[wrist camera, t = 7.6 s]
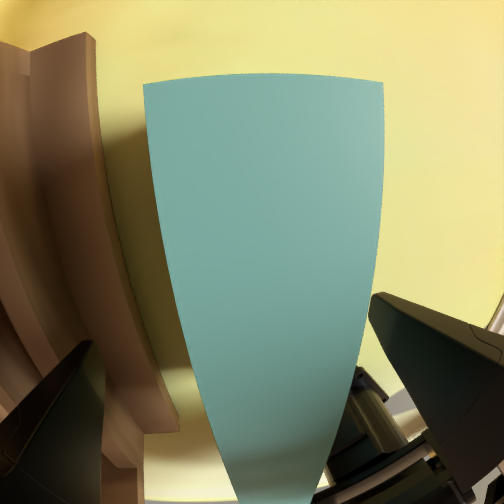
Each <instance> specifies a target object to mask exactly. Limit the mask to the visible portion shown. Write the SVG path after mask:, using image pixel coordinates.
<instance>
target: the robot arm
mask: <svg viewBox="0 0 504 504" xmlns="http://www.w3.org/2000/svg"><path fill="white" fill-rule="evenodd" d="M368 318H369V321H370V323H371V325H372V327H373V329H374V331H375V334H376V336H377V338H378V340H379V342H380V344H381V346H382V348H383V350H384V352H385V354H386V356H387V358H388V359H389V361H390V363H391V364H392V366H393V368H394V369H395V371H396V373H397V374H398V376H399V378H400V379H401V381H402V383H403V384H404V386H405V388H406V390H407V391H408V393H409V395H410V396H411V398H412V400H413V402H414V403H415V405H416V407H417V409H418V410H419V412H420V414H421V416H422V418H423V419H424V421H425V423H426V425H427V427H428V428H429V429H428V428H427V429H426V430H424V431H423V432H422V433H421V435H420V436H418V437H417V438H415V439H414V440H412V441H411V442H408V441H407V439H406V438H405V436H404V434H403V433H402V431H401V430H400V428H399V427H398V425H397V423H396V422H395V420H394V419H393V417H392V416H391V414H390V413H389V411H388V409H387V408H386V406H385V405H384V403H385V402H386V401H387V400H388V399H389V396H388V395H387V393H386V392H385V391H384V390H383V389H382V388H381V387H380V386H379V384H378V383H377V382H376V381H375V380H374V379H373V378H372V377H371V376H370V374H369V373H368V372H367V371H366V370H365V369H364V368H363V367H358V368H356V369H355V371H354V375H353V379H352V383H351V387H350V390H349V394H348V398H347V401H346V405H345V408H344V411H343V415H342V418H341V421H340V424H339V427H338V431H337V434H336V437H335V440H334V443H333V445H332V448H331V451H330V454H329V457H328V459H327V462H326V465H325V468H324V470H323V471H324V473H325V476H326V478H327V480H328V483H329V485H330V488H327V489H325V490H323V491H320V492H318V493H316V494H314V495H313V497H312V500H311V502H310V504H472V503H473V502H475V501H476V497H475V494H474V492H473V490H472V488H471V487H472V486H474V485H475V484H476V483H477V482H479V481H480V480H481V479H482V478H484V477H485V476H486V475H487V474H488V473H490V472H491V471H492V470H493V469H494V468H495V467H497V468H498V469H499V470H500V472H501V474H500V475H499V476H498V477H497V478H496V479H494V480H493V481H492V482H491V483H490V484H489V485H488V488H487V494H486V498H485V502H484V504H504V335H501V334H498V333H495V332H492V331H489V330H486V329H483V328H480V327H477V326H475V325H472V324H468V323H467V322H464V321H461V320H459V319H456V318H453V317H451V316H448V315H445V314H442V313H440V312H437V311H434V310H432V309H429V308H426V307H424V306H421V305H418V304H416V303H413V302H410V301H407V300H405V299H402V298H399V297H397V296H394V295H391V294H388V293H386V292H379V293H375V294H373V295H372V297H371V301H370V307H369V312H368ZM104 410H105V361H104V358H103V356H102V354H101V352H100V349H99V347H98V345H97V343H96V342H95V341H94V340H83V341H81V342H80V343H79V344H78V345H77V346H76V347H75V348H74V349H73V350H72V351H71V352H70V353H69V354H68V355H67V356H66V357H65V358H64V359H63V360H61V361H60V362H59V363H58V364H57V365H56V366H55V367H54V368H53V369H52V370H51V371H50V372H49V373H48V374H47V375H46V376H45V377H44V378H43V379H42V380H41V381H40V382H39V383H38V384H37V385H36V386H35V387H34V388H33V389H32V390H31V392H30V393H29V394H28V395H27V396H26V397H25V398H24V399H23V400H22V401H21V402H20V403H19V404H18V406H16V407H15V408H14V409H13V410H12V411H11V412H10V413H9V414H8V415H7V416H6V418H5V419H4V420H3V421H2V422H1V423H0V504H101V451H102V434H103V421H104ZM427 455H429V456H430V459H429V460H428V461H426V462H425V460H424V459H423V458H424V457H425V456H427Z"/></svg>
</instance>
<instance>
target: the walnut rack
mask: <svg viewBox="0 0 504 504" xmlns="http://www.w3.org/2000/svg"><path fill="white" fill-rule="evenodd" d="M83 340H94V341H95V342H96V343H97V345H98V347H99V349H100V352H101V354H102V356H103V358H104V361H105V410H104V421H103V434H102V451H101V504H145V503H144V470H143V443H144V434H152V433H167V432H179V416H178V414H177V412H176V409H175V407H174V405H173V402H172V400H171V398H170V395H169V393H168V391H167V388H166V386H165V383H164V381H163V378H162V376H161V373H160V371H159V368H158V365H157V363H156V360H155V357H154V355H153V352H152V349H151V346H150V343H149V341H148V338H147V335H146V332H145V329H144V326H143V323H142V320H141V317H140V313H139V310H138V307H137V304H136V301H135V297H134V294H133V290H132V287H131V283H130V280H129V276H128V272H127V269H126V265H125V261H124V257H123V253H122V249H121V245H120V241H119V236H118V232H117V228H116V223H115V218H114V213H113V208H112V203H111V198H110V193H109V187H108V181H107V175H106V169H105V162H104V155H103V148H102V140H101V131H100V122H99V111H98V98H97V82H96V40H95V39H94V38H93V37H92V36H91V35H89V34H88V33H87V32H83V33H80V34H77V35H74V36H71V37H68V38H65V39H62V40H59V41H57V42H54V43H51V44H49V45H46V46H44V47H41V48H39V49H36V50H34V51H31V52H29V51H27V50H24V49H21V48H18V47H15V46H13V45H10V44H7V43H4V42H1V41H0V423H1V422H2V421H3V420H4V419H5V418H6V416H7V415H8V414H9V413H10V412H11V411H12V410H13V409H14V408H15V407H16V406H18V404H19V403H20V402H21V401H22V400H23V399H24V398H25V397H26V396H27V395H28V394H29V393H30V392H31V390H32V389H33V388H34V387H35V386H36V385H37V384H38V383H39V382H40V381H41V380H42V379H43V378H44V377H45V376H46V375H47V374H48V373H49V372H50V371H51V370H52V369H53V368H54V367H55V366H56V365H57V364H58V363H59V362H60V361H61V360H63V359H64V358H65V357H66V356H67V355H68V354H69V353H70V352H71V351H72V350H73V349H74V348H75V347H76V346H77V345H78V344H79V343H80V342H81V341H83Z"/></svg>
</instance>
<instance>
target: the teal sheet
mask: <svg viewBox="0 0 504 504" xmlns="http://www.w3.org/2000/svg"><path fill="white" fill-rule="evenodd" d="M143 91H144V104H145V116H146V127H147V136H148V145H149V154H150V162H151V170H152V177H153V184H154V191H155V198H156V204H157V210H158V216H159V222H160V228H161V233H162V239H163V244H164V250H165V255H166V260H167V265H168V270H169V274H170V279H171V284H172V288H173V293H174V297H175V302H176V306H177V310H178V314H179V318H180V322H181V327H182V330H183V334H184V338H185V342H186V346H187V350H188V353H189V357H190V361H191V364H192V368H193V371H194V375H195V378H196V382H197V385H198V388H199V392H200V395H201V398H202V401H203V405H204V408H205V411H206V414H207V417H208V420H209V423H210V426H211V429H212V432H213V435H214V438H215V441H216V444H217V446H218V449H219V452H220V455H221V458H222V460H223V463H224V466H225V468H226V471H227V473H228V476H229V479H230V481H231V484H232V486H233V489H234V491H235V494H236V496H237V498H238V501H239V503H240V504H310V502H311V500H312V497H313V495H314V493H315V490H316V488H317V485H318V483H319V480H320V478H321V475H322V473H323V470H324V468H325V465H326V462H327V459H328V457H329V454H330V451H331V448H332V445H333V443H334V440H335V437H336V434H337V431H338V427H339V424H340V421H341V418H342V415H343V411H344V408H345V405H346V401H347V398H348V394H349V390H350V387H351V383H352V379H353V375H354V371H355V367H356V363H357V359H358V355H359V351H360V346H361V342H362V337H363V332H364V327H365V322H366V317H367V312H368V307H369V301H370V295H371V289H372V283H373V276H374V269H375V262H376V255H377V247H378V238H379V228H380V218H381V206H382V192H383V173H384V93H383V83H382V82H375V81H369V80H361V79H353V78H345V77H335V76H323V75H307V74H231V75H216V76H204V77H193V78H185V79H176V80H169V81H162V82H156V83H150V84H144V85H143Z"/></svg>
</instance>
